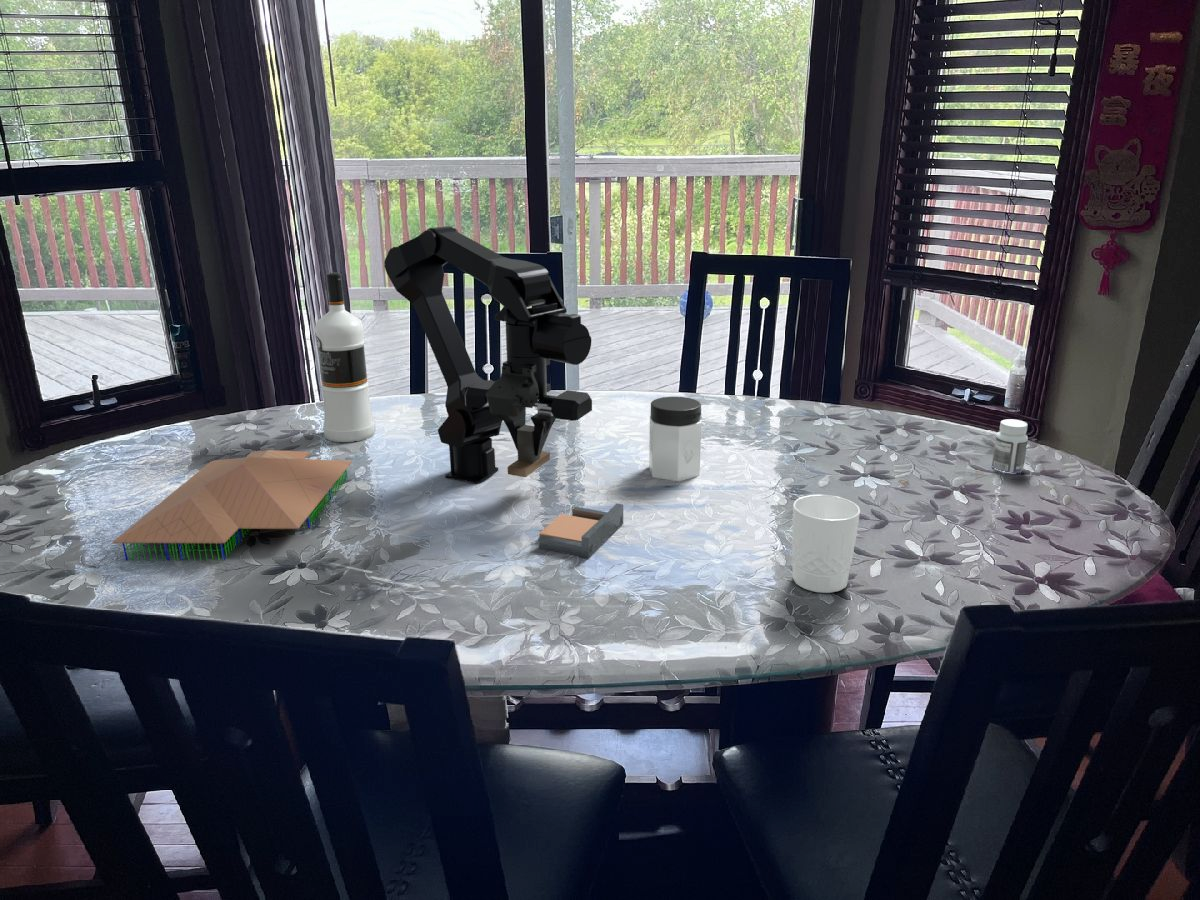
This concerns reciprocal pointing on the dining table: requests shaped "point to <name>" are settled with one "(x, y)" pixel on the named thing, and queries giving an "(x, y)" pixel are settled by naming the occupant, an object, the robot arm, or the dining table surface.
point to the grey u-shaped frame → (592, 537)
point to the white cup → (823, 541)
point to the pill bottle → (1010, 446)
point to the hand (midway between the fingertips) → (529, 453)
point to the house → (238, 501)
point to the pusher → (527, 454)
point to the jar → (675, 438)
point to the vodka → (343, 370)
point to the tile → (568, 527)
